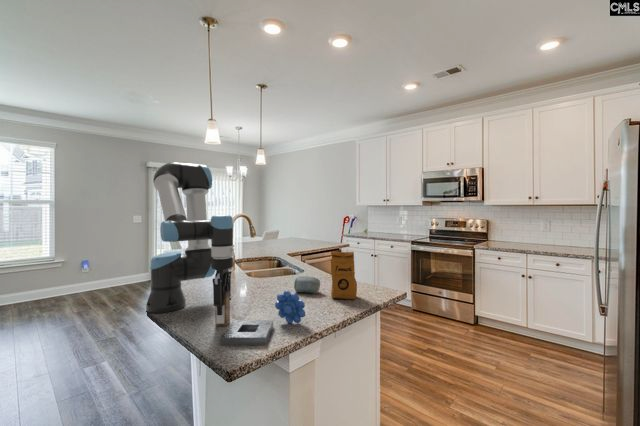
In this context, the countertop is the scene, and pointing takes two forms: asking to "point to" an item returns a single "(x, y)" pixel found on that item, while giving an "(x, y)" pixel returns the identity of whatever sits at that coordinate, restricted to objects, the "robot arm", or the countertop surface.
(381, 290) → the countertop surface
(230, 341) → the gray square hole plate
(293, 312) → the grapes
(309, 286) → the spool
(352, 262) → the coffee package
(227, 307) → the wooden block
